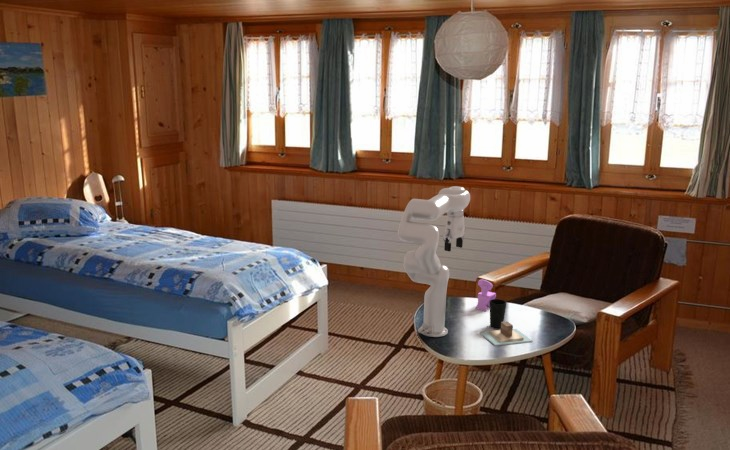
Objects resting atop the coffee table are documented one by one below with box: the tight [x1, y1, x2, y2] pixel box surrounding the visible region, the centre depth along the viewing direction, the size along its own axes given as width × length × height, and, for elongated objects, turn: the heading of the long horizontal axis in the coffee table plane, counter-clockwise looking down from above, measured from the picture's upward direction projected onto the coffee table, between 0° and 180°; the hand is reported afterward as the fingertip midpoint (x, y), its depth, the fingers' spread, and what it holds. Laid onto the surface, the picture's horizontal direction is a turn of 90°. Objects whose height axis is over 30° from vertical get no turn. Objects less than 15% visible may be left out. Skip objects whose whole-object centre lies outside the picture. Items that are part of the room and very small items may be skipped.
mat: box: [480, 328, 533, 347], centre depth 288 cm, size 18×14×1 cm
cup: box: [489, 298, 507, 330], centre depth 300 cm, size 8×8×12 cm
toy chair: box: [475, 279, 497, 312], centre depth 325 cm, size 8×9×15 cm
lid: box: [488, 320, 524, 342], centre depth 288 cm, size 11×11×6 cm
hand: (453, 249), depth 306 cm, fingers open, 9 cm apart
